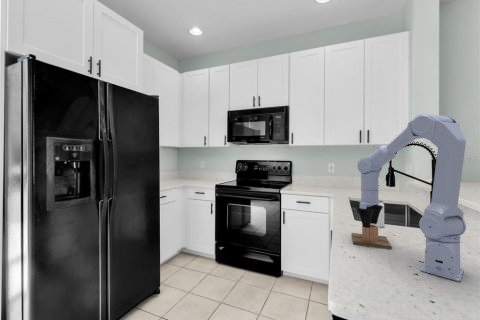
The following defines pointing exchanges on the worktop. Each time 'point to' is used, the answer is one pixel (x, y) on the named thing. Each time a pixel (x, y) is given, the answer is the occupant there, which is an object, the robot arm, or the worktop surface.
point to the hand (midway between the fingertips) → (370, 225)
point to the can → (380, 216)
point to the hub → (370, 233)
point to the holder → (371, 242)
